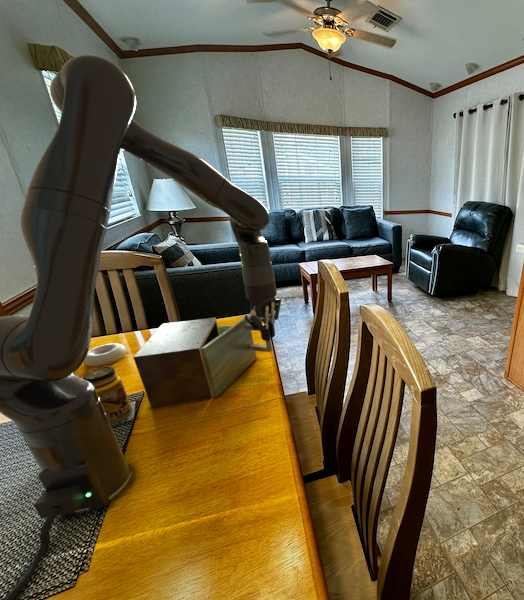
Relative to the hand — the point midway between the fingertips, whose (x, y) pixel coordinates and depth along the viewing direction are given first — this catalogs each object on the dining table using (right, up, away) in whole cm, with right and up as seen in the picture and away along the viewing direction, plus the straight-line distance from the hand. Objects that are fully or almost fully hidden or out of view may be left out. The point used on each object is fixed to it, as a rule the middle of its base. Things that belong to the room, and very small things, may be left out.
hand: (268, 338), depth 92 cm
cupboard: (-19, -11, -4) cm, 22 cm away
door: (-4, -10, -3) cm, 11 cm away
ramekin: (-20, -4, +14) cm, 25 cm away
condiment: (-29, -16, -17) cm, 37 cm away
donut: (-51, -7, +6) cm, 52 cm away
